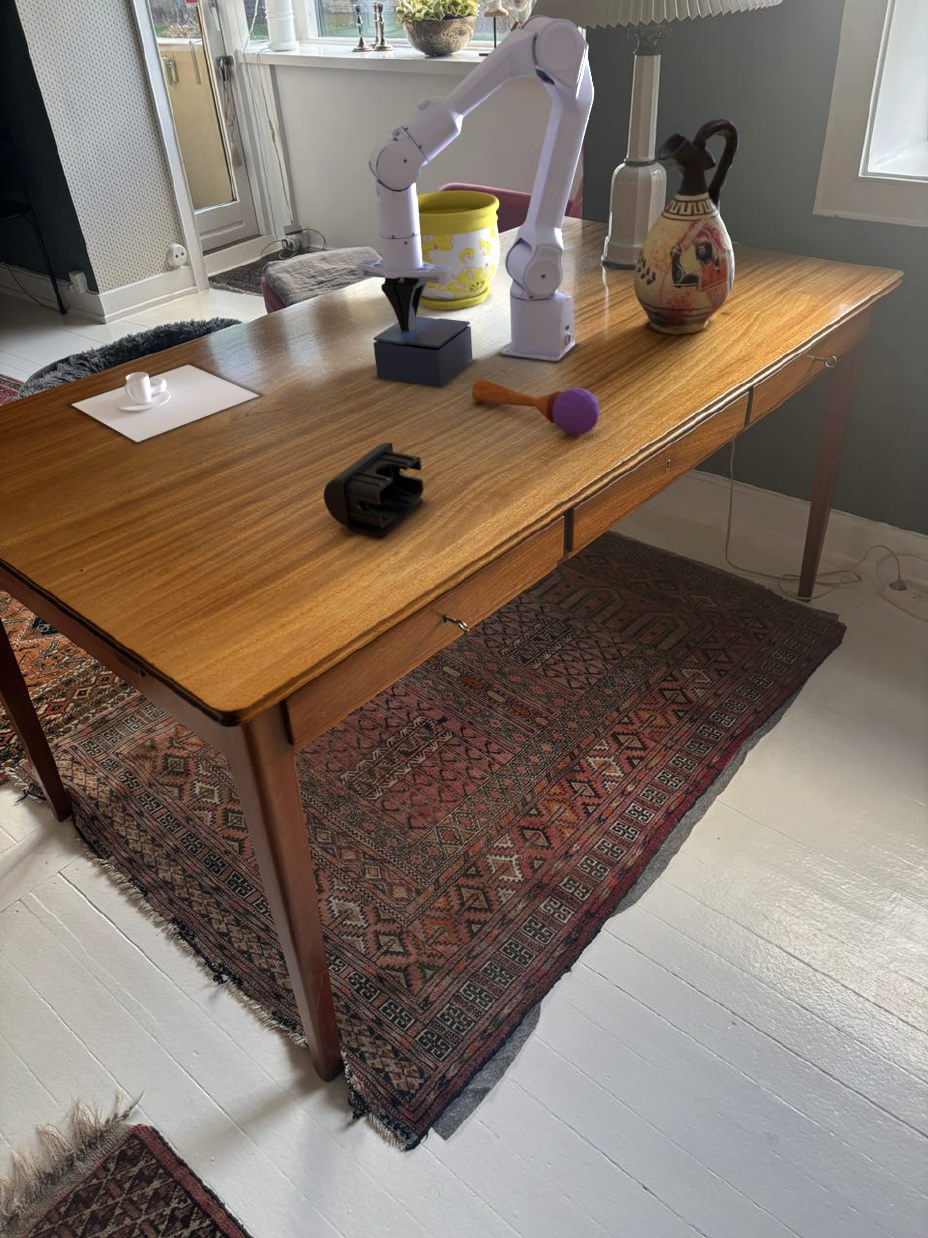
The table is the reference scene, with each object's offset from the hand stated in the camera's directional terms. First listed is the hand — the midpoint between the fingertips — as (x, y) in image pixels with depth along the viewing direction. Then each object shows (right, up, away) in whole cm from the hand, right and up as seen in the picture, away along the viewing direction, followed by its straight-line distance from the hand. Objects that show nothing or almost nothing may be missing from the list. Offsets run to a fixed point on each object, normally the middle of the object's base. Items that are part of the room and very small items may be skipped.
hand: (408, 328), depth 140 cm
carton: (+3, -5, +3) cm, 6 cm away
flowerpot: (+6, +14, +30) cm, 34 cm away
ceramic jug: (+44, +4, +13) cm, 46 cm away
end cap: (-1, -32, -33) cm, 45 cm away
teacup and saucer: (-36, -11, -2) cm, 38 cm away
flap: (0, 0, 0) cm, 0 cm away
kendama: (+18, -17, -14) cm, 28 cm away
